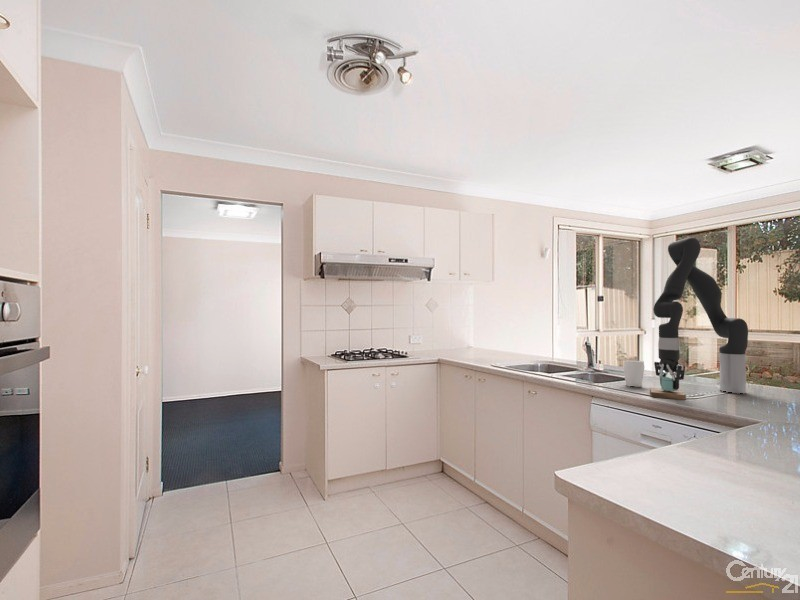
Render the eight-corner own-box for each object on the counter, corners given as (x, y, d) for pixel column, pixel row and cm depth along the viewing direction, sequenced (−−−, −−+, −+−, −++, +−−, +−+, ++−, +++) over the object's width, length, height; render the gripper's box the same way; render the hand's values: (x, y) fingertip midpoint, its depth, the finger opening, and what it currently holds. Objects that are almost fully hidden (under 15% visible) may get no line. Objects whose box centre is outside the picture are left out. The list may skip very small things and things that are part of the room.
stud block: (649, 392, 185) (649, 379, 186) (682, 394, 180) (682, 382, 180) (651, 397, 175) (651, 383, 175) (685, 400, 169) (685, 386, 169)
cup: (648, 387, 197) (648, 362, 197) (629, 387, 197) (629, 362, 197) (637, 384, 206) (637, 360, 206) (619, 384, 206) (619, 359, 206)
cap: (661, 390, 176) (661, 378, 176) (661, 387, 180) (661, 376, 181) (677, 391, 173) (677, 379, 173) (676, 389, 178) (676, 377, 178)
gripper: (648, 346, 183) (648, 385, 183) (675, 350, 169) (676, 391, 169) (662, 346, 185) (663, 384, 184) (690, 349, 171) (691, 390, 170)
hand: (669, 387), depth 177 cm, fingers closed on cap, 5 cm apart
